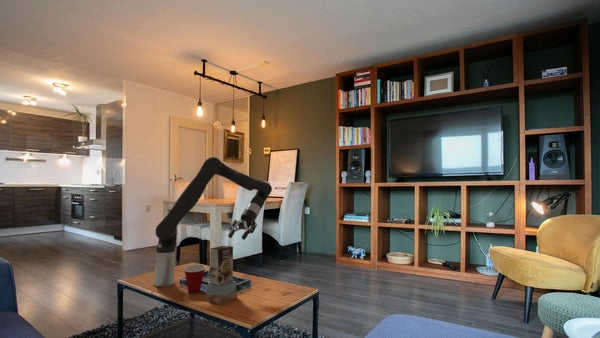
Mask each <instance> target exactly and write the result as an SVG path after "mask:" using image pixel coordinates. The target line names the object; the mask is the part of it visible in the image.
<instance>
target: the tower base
mask: <svg viewBox="0 0 600 338" xmlns="http://www.w3.org/2000/svg"><path fill="white" fill-rule="evenodd" d="M237 298H238V290H237V289H236V290H235V291H233V292H231V293H230V294H228V295H226V296H219V295H212V294H207V291H206V292H205V301H207V302H211V303H214V304H217V305H224V304H227V303H229V302H231V301H234V300H235V299H237Z"/></svg>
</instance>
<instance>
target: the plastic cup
mask: <svg viewBox="0 0 600 338" xmlns="http://www.w3.org/2000/svg"><path fill="white" fill-rule="evenodd" d="M206 268H207V266H206V265H205V264H199V263H198V264H191V265H187V266H185V267H184V268H183V269H182V270H183V271H184V275H185V280H186V286H187V292H188V293H189V294H197V293H200V292H201V289H202V284H203V282H204V281H203V280H204V275H205V270H206Z"/></svg>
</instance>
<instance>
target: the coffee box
mask: <svg viewBox="0 0 600 338" xmlns="http://www.w3.org/2000/svg"><path fill="white" fill-rule="evenodd" d="M209 249H210V250H209V251H210V252H209V253H210V254H209V255H210V258H209V283H211V284H216V285H221V284H224V283H227V282H230V281H234V280H233V278H234V277H233V275H234V274H233V273H234V272H233V271H234V268H233V267H234V265H233V264H234V261H233V260H234V246H233V245H232V246H230V245H220V246H216V247H210V248H209Z"/></svg>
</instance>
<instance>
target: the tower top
mask: <svg viewBox="0 0 600 338" xmlns="http://www.w3.org/2000/svg"><path fill="white" fill-rule="evenodd" d="M235 290H237V281H236V280H233V281H230V282H227V283H224V284H221V285H216V284H211V283H210V282H209V283H208V284H206V292H207V294H212V295H219V296H226V295H228V294H230V293H231V292H233V291H235Z"/></svg>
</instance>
